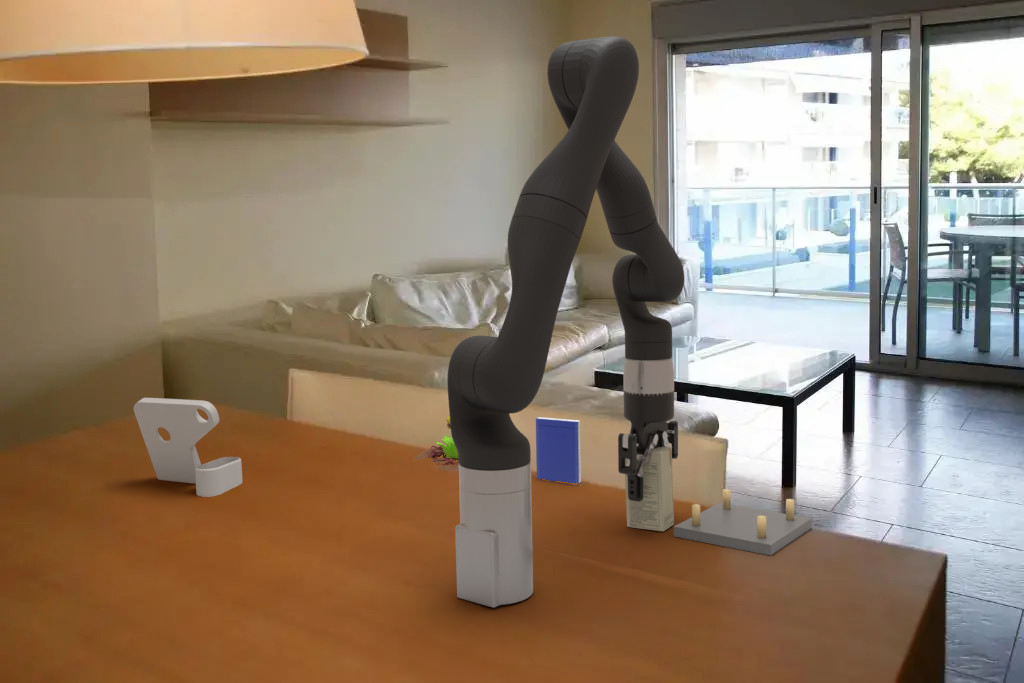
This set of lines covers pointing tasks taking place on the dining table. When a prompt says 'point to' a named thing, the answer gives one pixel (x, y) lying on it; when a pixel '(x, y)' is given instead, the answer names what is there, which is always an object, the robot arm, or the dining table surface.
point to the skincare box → (653, 494)
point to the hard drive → (558, 450)
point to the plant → (448, 451)
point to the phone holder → (185, 444)
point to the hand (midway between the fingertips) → (649, 494)
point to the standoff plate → (743, 526)
